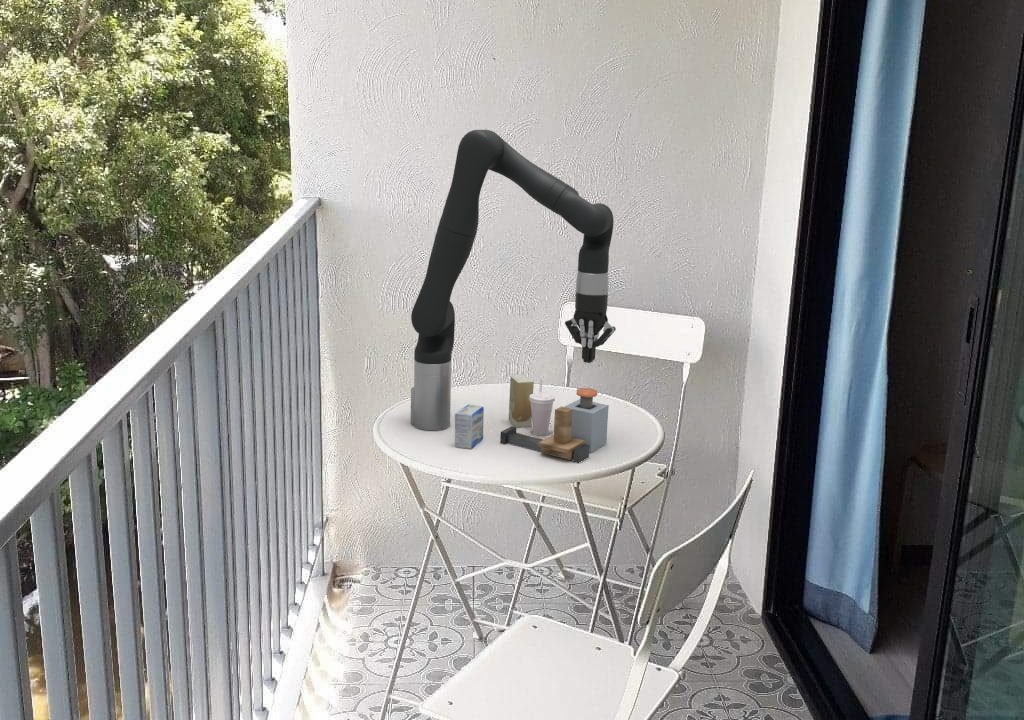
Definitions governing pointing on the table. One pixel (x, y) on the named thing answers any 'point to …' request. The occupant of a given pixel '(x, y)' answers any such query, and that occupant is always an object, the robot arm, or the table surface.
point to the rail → (537, 443)
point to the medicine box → (469, 426)
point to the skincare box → (520, 400)
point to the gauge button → (586, 397)
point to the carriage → (561, 436)
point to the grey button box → (589, 424)
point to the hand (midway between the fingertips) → (588, 361)
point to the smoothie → (541, 411)
